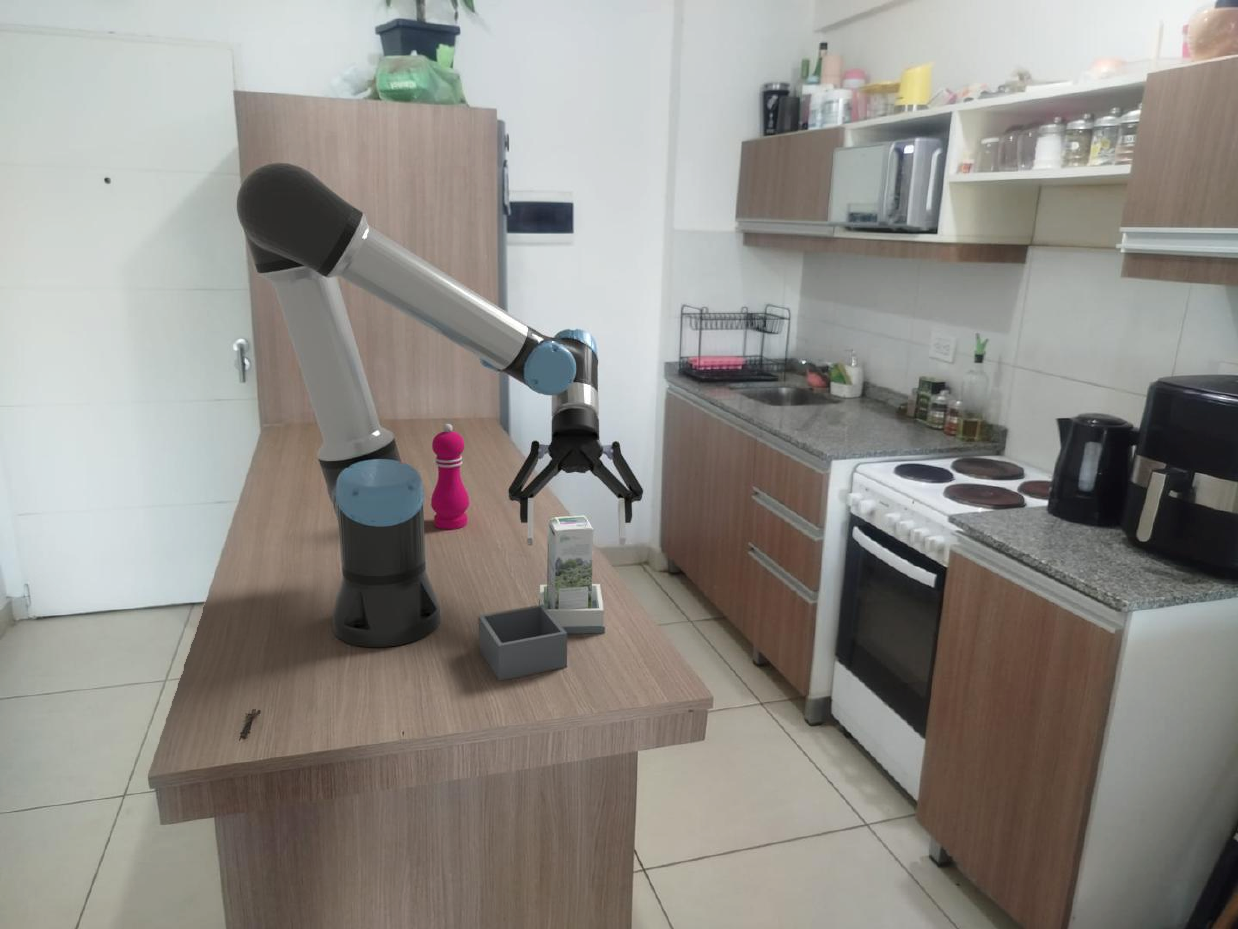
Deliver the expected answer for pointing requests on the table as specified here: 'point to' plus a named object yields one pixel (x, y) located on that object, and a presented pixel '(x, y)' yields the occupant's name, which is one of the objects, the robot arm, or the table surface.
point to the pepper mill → (449, 481)
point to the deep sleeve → (522, 642)
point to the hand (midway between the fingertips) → (576, 542)
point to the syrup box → (569, 563)
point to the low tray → (579, 614)
